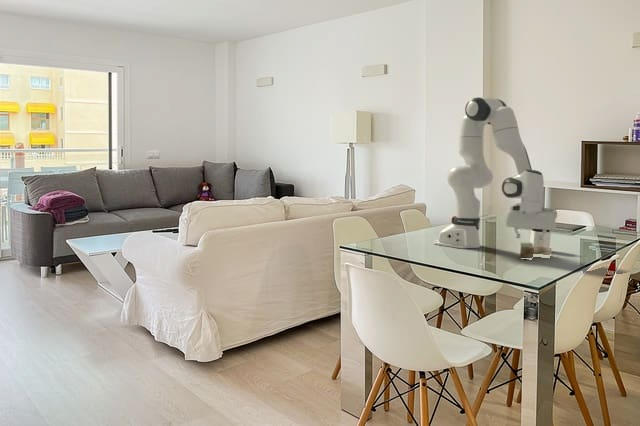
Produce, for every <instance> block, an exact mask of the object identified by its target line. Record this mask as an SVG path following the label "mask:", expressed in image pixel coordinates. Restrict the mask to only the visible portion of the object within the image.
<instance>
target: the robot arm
mask: <svg viewBox="0 0 640 426" xmlns="http://www.w3.org/2000/svg"><path fill="white" fill-rule="evenodd" d="M464 111H465V115H464V116H463V117H462V118H461V122H460V127H459V136H458V137H459V142H458V150H459V151H458V153H459V155H460V156H461V157H462V158H463V161H464V163H465V165H460V166H456V167H453V168H450V170H448V173H447V177H446V179H447V182H448V185H449V186H450V187H451V188H452V190H453V192H454V195H455V200H456V201H455V202H456V204H455V205H456V206H455V208H456V209H455V215H453V216H452V217H451V219H450V220H451V222H450V224H449V225H447V226H445V227H444V228H442V229H441V230H440V231H439V234H438V238H437V239H434V240H433V244H434V245H438V246H442V247H443V246H444V247H448V248H449V247H450V248H456V249H479V248H481V243H480V242H481V241H480V228H481V218H480V212H481V202H480V200H479V198H478V197H477V196H476V193H475V189H483V188H486V187H488V186H490V185H491V184H492V181H493V178H494V177H493V172H492V171H491V169H490V168H489V167H488V165H487V163H486V160H485V156H484V128H485V126H486V125H491V130H492V136H493V140H494V143H495V145H496V147H497V149H499V150H500V151H501V152H504V153H505V154H507V155H509V156H510V157H511V158H512V159H513V161H514V164H515V167H516V171H517V174H516V175H513V176H510V177H507V178H505V179H504V180H503V182H502V184H501V192H502V194H503V195H504V197H507V198H508V199H509V198H510V199H520V202H519V203H515V204H512V205H510V206H509V212H508V213H507V216H506V221H505V225H506V227H507V228H514V229H513V230H514V232H515V234H516V239H520V238H521V233H519V231H518V230H519V228H520V229H531V230H532V229H543V232H544V233H543V234H542V235H540V238H539V240H543V236H544V234H545V233H546V231H547V230H550V231H554V230H555V229H556V224H557V222H556V219H557V217H558V212H557V210H556V209H554V208H553V207H551V208H548V207H543V205H544V204H543V202H544V200H543V193H544V189H545V188H544V187H545V186H544V185H545V184H544V175H543V172H541V171H539V170H535V169H532V166H531V162H530V158H529V155H528V151H527V148H526V146H525V144H524V143H523V141H522V137H521V135H520V131H519V126H518V122H517V118H516V114H515V112H514V110H513V108H511V107H509V106H507V104H506V103H505V102H504V101H503V100H501V99H498V98H492V97H473V98H471V99H469V100H468V101H467V103H466V104H465V107H464Z"/></svg>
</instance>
